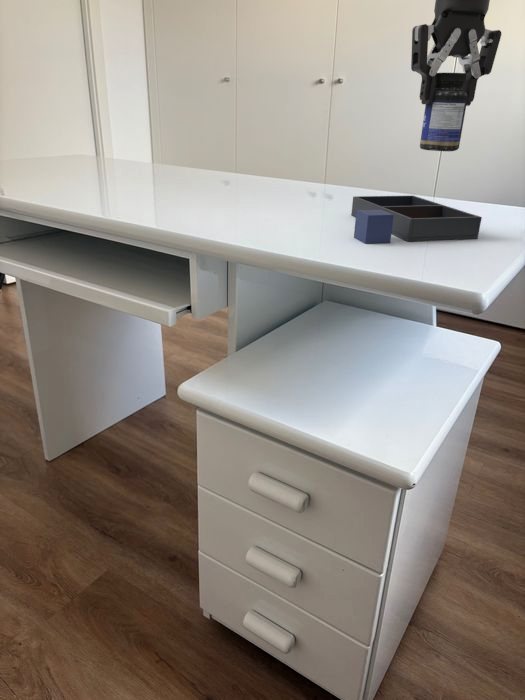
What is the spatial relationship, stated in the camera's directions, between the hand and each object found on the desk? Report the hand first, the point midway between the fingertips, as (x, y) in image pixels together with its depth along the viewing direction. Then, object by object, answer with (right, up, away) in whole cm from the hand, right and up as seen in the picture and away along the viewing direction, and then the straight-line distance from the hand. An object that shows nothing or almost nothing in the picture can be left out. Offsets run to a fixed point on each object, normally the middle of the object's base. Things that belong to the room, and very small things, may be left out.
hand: (445, 104), depth 83 cm
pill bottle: (0, -6, +3) cm, 7 cm away
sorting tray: (-2, -16, +14) cm, 21 cm away
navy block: (-11, -20, +3) cm, 23 cm away
